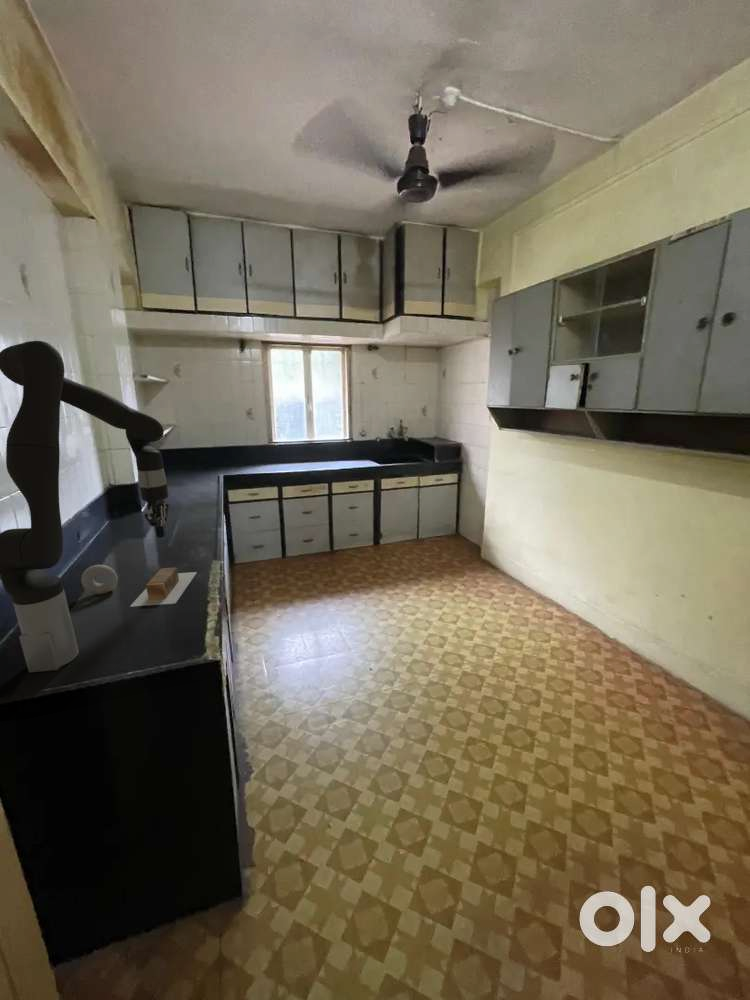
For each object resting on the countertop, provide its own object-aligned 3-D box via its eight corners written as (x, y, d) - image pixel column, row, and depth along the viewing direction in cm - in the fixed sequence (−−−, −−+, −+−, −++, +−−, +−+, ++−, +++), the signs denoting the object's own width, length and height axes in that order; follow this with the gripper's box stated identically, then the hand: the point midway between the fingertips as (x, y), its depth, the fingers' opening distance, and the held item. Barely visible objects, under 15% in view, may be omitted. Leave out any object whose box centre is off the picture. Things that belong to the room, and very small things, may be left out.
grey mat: (175, 604, 122) (175, 603, 122) (129, 608, 121) (129, 606, 120) (197, 573, 143) (197, 572, 143) (158, 575, 142) (158, 574, 142)
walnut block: (179, 581, 136) (165, 598, 125) (163, 582, 136) (148, 599, 124) (176, 567, 135) (163, 583, 124) (161, 568, 134) (146, 585, 123)
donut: (82, 598, 127) (76, 569, 124) (87, 593, 130) (80, 564, 127) (118, 594, 129) (112, 565, 127) (121, 589, 132) (116, 560, 130)
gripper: (149, 480, 131) (157, 530, 135) (130, 489, 118) (139, 544, 122) (173, 479, 132) (180, 529, 136) (157, 487, 119) (165, 543, 123)
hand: (161, 536), depth 129 cm, fingers closed
